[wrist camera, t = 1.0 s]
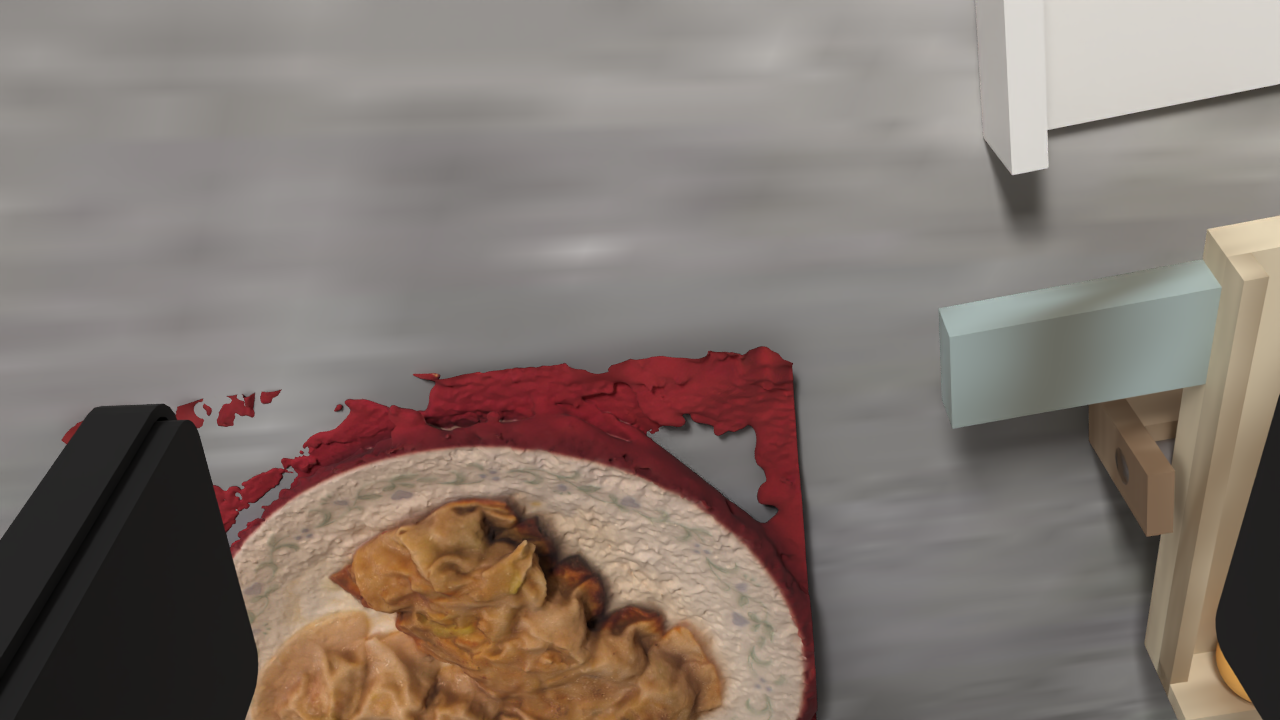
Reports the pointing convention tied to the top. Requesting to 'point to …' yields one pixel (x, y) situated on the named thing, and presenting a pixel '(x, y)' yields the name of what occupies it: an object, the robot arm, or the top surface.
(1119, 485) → the fulcrum
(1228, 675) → the ball
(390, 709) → the plate with food
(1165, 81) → the dish
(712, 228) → the top surface
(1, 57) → the top surface
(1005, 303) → the lever
